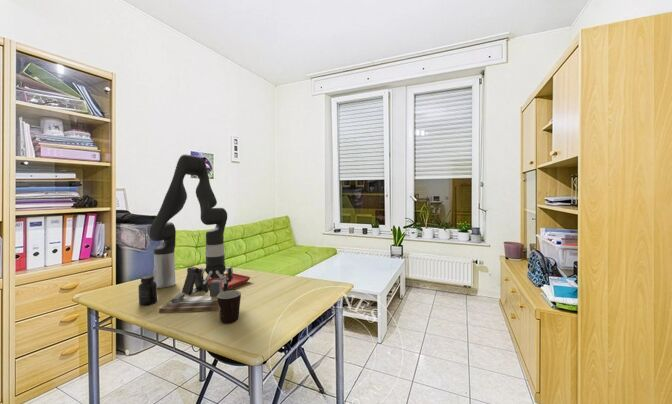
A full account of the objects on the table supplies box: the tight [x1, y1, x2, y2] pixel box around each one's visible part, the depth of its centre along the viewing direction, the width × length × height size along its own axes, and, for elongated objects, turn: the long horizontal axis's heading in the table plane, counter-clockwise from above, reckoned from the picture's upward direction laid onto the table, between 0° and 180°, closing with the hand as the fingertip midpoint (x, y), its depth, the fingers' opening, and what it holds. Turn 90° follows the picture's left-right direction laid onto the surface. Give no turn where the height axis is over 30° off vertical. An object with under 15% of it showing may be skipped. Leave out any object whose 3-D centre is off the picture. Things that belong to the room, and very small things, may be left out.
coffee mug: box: [217, 290, 242, 325], centre depth 108 cm, size 12×9×10 cm
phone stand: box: [181, 266, 205, 296], centre depth 141 cm, size 9×6×12 cm, turn 146°
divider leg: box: [209, 280, 223, 301], centre depth 124 cm, size 4×7×8 cm, turn 5°
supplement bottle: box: [137, 274, 158, 307], centre depth 126 cm, size 7×7×12 cm
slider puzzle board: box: [158, 292, 219, 313], centre depth 124 cm, size 28×13×4 cm, turn 95°
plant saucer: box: [208, 272, 252, 292], centre depth 152 cm, size 18×18×3 cm
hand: (216, 291), depth 124 cm, fingers open, 7 cm apart
